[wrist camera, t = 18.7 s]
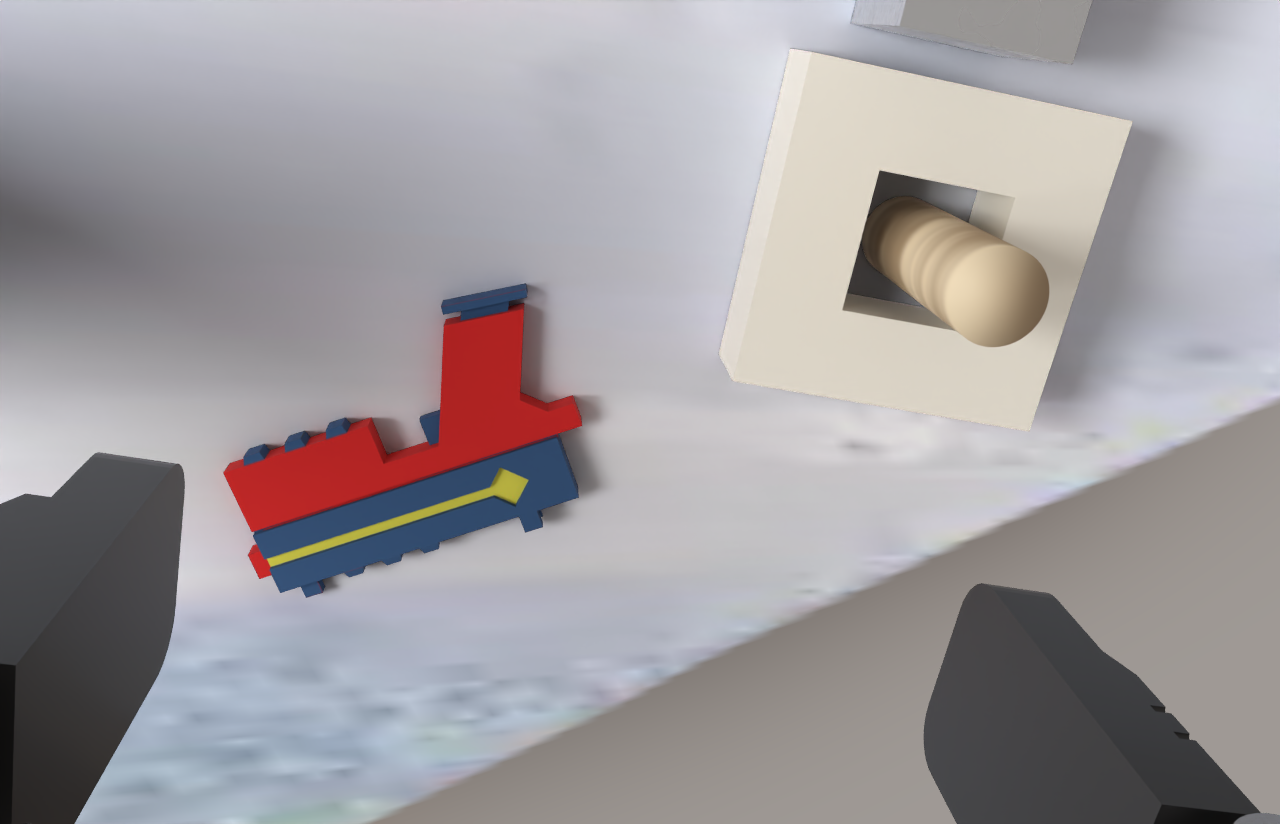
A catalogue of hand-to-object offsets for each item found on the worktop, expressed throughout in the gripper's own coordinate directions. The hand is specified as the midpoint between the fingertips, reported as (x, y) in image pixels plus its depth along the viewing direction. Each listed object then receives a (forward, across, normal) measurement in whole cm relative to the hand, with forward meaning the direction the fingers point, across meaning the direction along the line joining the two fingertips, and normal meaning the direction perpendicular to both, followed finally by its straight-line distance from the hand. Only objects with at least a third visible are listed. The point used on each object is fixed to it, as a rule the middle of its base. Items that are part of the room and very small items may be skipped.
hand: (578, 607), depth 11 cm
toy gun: (+34, +4, +12) cm, 36 cm away
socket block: (+33, -14, 0) cm, 36 cm away
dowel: (+33, -14, 0) cm, 36 cm away
